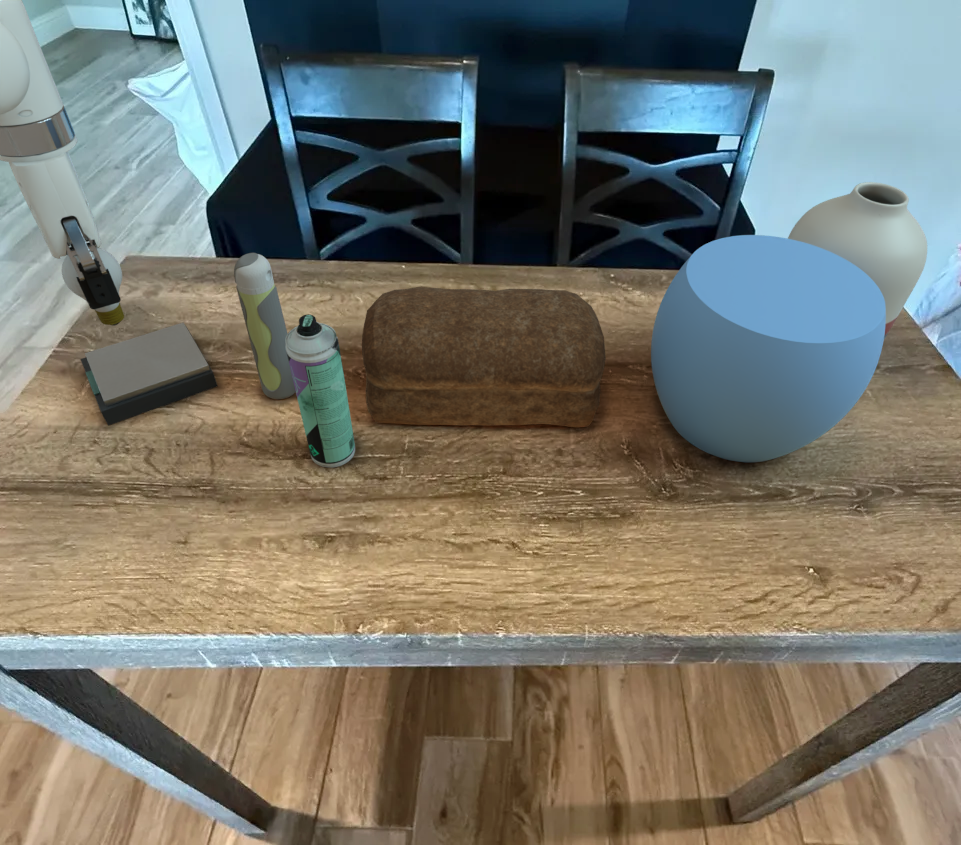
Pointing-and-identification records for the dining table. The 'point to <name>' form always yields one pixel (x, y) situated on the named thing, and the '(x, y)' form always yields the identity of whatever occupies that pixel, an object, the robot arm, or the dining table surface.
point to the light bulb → (105, 314)
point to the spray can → (321, 391)
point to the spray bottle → (264, 324)
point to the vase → (871, 239)
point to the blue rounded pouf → (764, 345)
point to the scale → (147, 373)
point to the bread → (482, 357)
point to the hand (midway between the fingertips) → (98, 288)
